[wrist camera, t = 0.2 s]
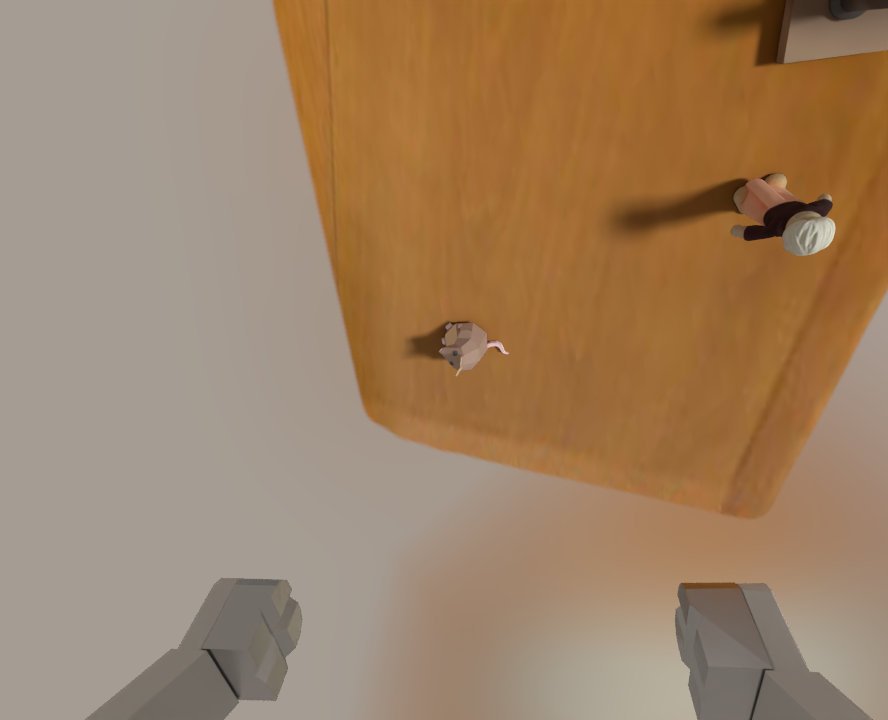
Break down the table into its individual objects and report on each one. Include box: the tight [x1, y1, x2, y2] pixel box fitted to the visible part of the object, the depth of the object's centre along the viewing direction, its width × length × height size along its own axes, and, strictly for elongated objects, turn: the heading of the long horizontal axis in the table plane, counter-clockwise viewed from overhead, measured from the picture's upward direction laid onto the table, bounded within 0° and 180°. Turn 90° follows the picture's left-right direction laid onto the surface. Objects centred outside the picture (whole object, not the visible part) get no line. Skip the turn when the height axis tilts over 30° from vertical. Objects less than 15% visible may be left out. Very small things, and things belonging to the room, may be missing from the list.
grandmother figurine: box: [731, 174, 835, 256], centre depth 45 cm, size 8×4×13 cm, turn 125°
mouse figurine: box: [439, 323, 509, 376], centre depth 59 cm, size 5×8×7 cm, turn 74°
